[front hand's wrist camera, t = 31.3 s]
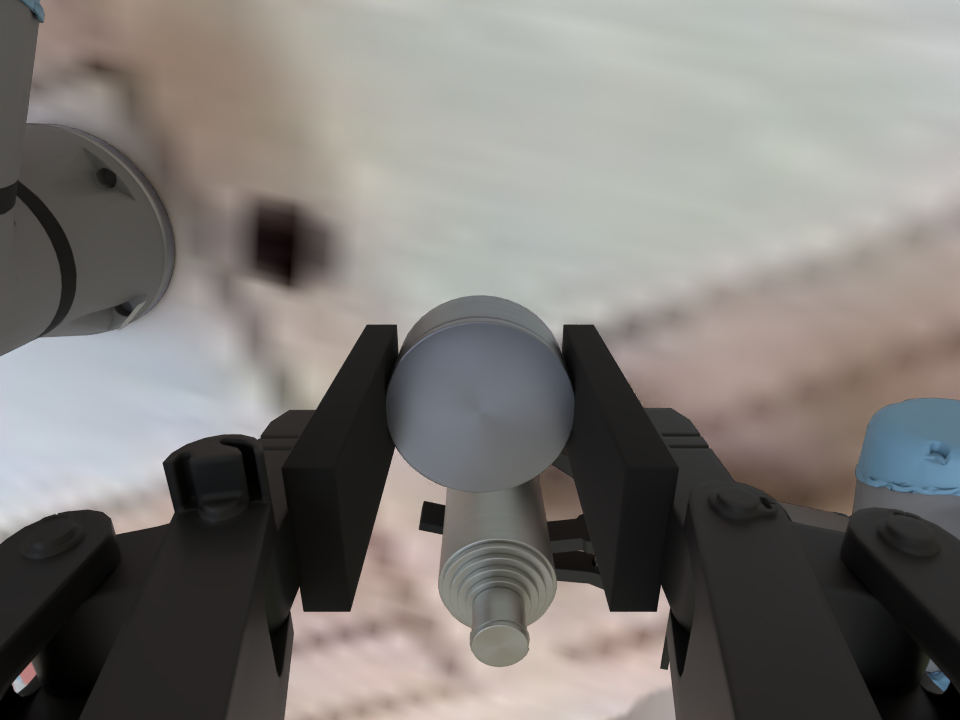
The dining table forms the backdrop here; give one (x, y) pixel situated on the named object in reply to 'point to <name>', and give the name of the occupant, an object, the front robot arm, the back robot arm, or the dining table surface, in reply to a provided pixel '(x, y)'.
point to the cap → (480, 396)
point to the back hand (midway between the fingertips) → (432, 473)
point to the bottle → (497, 568)
